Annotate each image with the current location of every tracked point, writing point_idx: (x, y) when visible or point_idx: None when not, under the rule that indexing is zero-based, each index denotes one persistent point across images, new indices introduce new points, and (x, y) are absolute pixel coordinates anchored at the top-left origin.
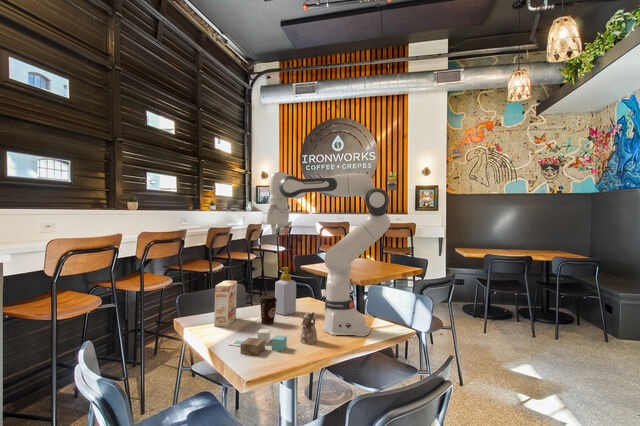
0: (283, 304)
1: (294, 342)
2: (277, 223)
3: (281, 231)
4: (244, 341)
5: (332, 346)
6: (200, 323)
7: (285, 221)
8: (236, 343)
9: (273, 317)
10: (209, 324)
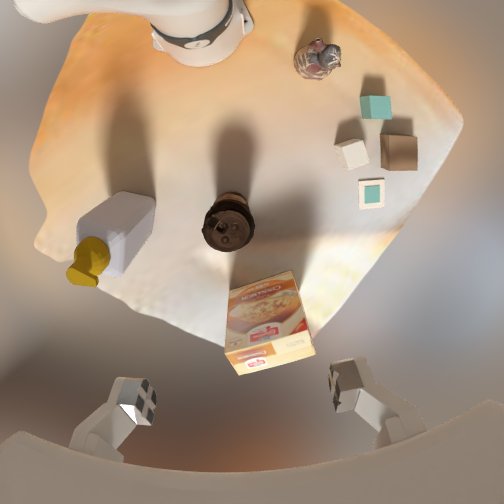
0: (147, 215)
1: (329, 89)
2: (408, 448)
3: (143, 400)
4: (408, 168)
5: (317, 16)
6: None
7: (64, 478)
8: (379, 194)
9: (231, 194)
10: None
